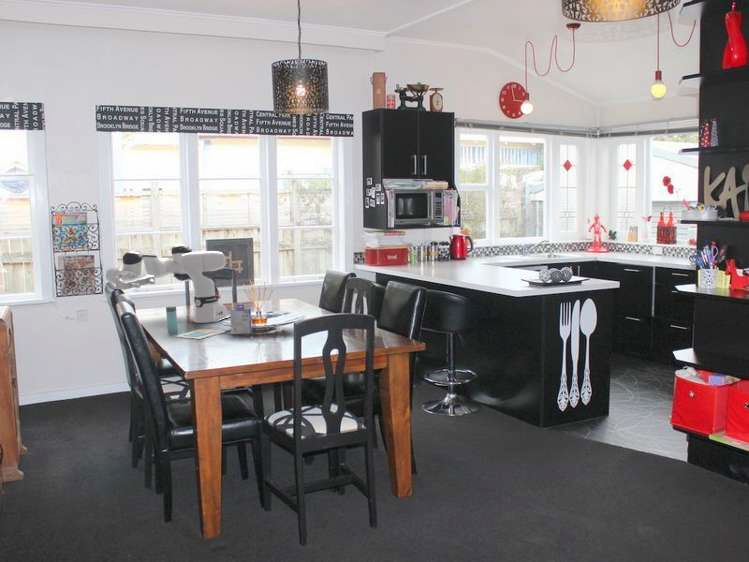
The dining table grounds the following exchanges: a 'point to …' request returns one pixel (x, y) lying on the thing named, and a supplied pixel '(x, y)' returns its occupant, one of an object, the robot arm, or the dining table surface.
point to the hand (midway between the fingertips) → (146, 284)
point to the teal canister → (171, 320)
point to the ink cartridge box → (240, 320)
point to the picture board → (200, 334)
